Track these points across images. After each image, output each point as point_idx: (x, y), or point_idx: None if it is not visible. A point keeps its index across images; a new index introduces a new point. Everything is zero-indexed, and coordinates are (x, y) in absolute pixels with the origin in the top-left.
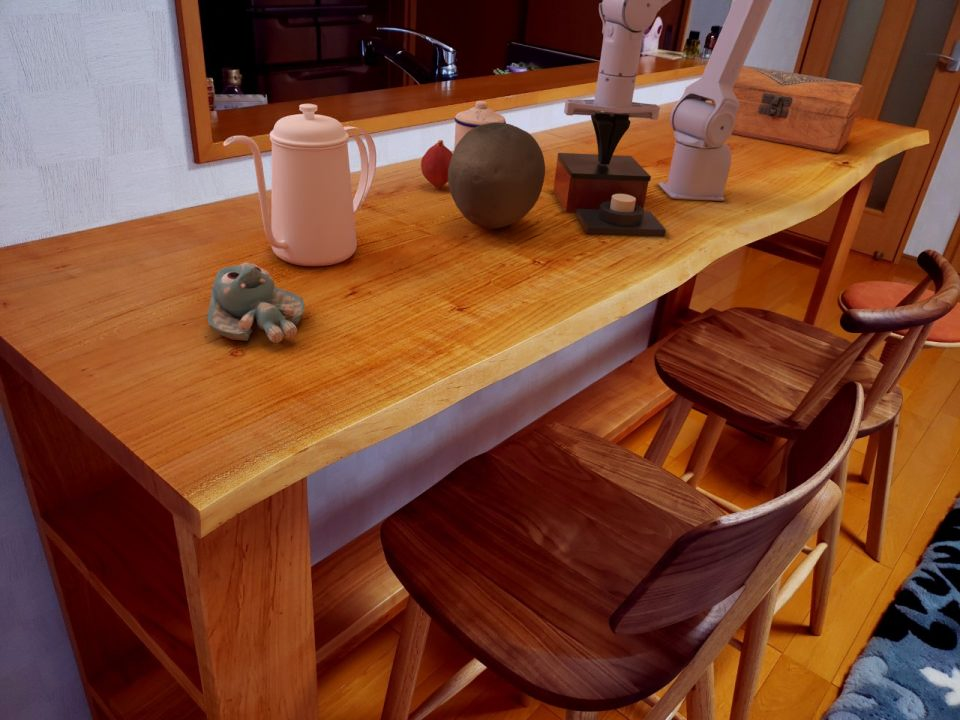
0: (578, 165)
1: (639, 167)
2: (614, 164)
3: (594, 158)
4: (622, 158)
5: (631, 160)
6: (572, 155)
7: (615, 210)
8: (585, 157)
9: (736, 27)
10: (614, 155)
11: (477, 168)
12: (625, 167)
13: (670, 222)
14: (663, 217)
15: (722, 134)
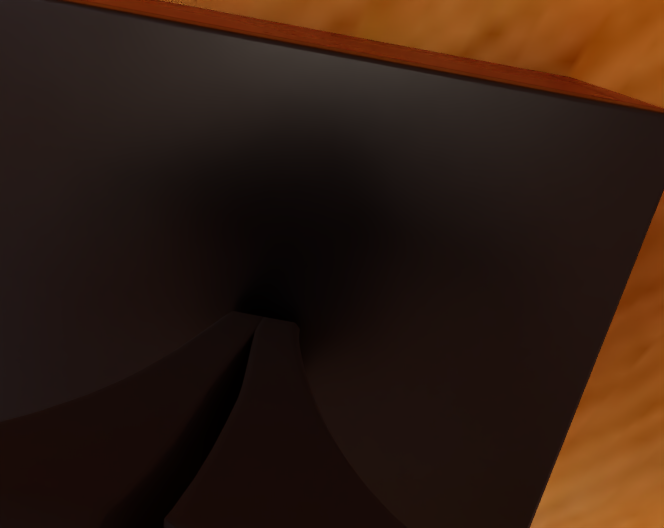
0: (43, 361)
1: (536, 443)
2: (357, 363)
3: (243, 193)
4: (530, 208)
5: (587, 270)
6: (51, 87)
7: None
8: (166, 154)
9: None
10: (504, 100)
11: None
12: (414, 434)
13: (560, 494)
14: (568, 440)
15: None
